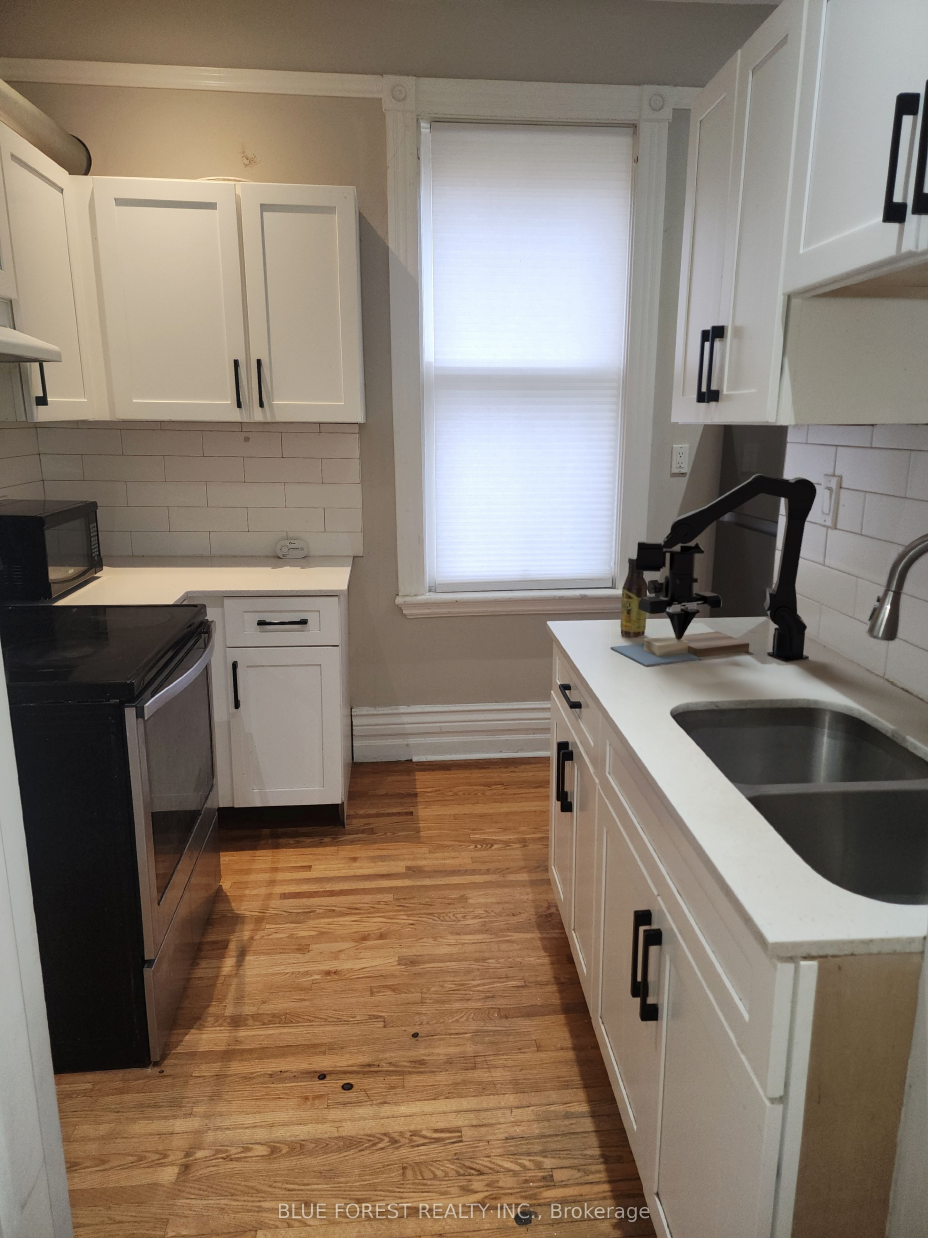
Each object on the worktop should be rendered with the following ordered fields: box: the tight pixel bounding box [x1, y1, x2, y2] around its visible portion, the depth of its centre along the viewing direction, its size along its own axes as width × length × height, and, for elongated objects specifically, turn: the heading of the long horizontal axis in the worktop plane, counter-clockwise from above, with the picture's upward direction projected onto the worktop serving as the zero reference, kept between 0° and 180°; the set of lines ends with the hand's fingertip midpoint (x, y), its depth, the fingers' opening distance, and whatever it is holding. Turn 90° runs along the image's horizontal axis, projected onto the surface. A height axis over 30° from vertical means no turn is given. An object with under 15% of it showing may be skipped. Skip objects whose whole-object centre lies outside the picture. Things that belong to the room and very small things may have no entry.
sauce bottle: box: [619, 555, 648, 638], centre depth 201 cm, size 6×6×20 cm
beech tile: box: [643, 635, 689, 656], centre depth 187 cm, size 6×8×2 cm
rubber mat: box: [610, 642, 702, 667], centre depth 186 cm, size 16×14×1 cm
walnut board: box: [682, 630, 750, 658], centre depth 190 cm, size 12×14×2 cm
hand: (678, 638), depth 187 cm, fingers closed
